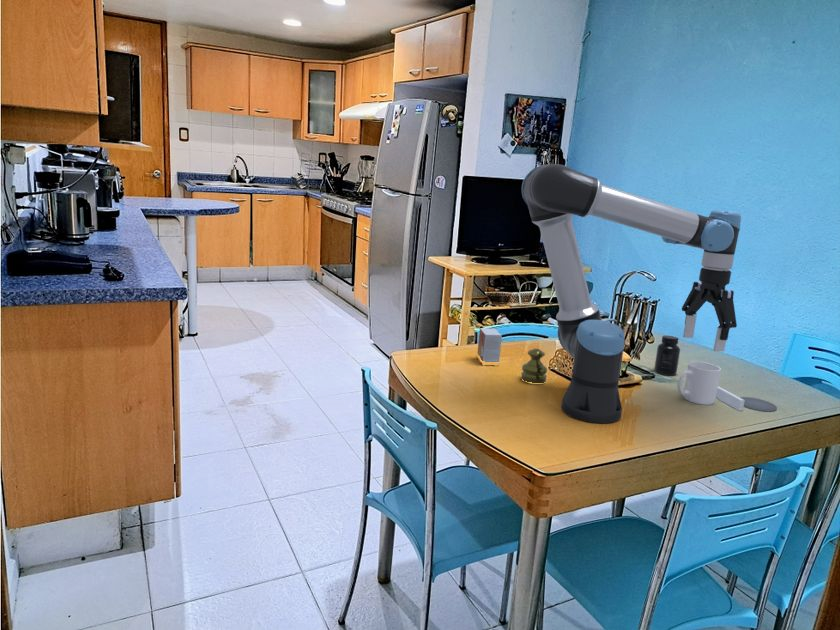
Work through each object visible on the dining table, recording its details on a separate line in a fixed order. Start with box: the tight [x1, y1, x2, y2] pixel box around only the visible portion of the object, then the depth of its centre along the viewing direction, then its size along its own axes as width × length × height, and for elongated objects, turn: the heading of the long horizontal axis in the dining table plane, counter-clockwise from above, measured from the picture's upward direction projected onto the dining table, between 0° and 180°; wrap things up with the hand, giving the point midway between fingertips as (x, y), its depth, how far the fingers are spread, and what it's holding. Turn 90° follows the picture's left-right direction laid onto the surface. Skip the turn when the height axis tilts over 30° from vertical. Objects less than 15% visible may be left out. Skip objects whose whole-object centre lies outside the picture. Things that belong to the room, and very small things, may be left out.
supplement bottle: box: [653, 335, 681, 377], centre depth 189 cm, size 7×7×12 cm
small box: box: [477, 327, 503, 363], centre depth 189 cm, size 8×6×10 cm
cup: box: [676, 361, 722, 406], centre depth 166 cm, size 8×12×10 cm
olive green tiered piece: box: [520, 348, 548, 384], centre depth 174 cm, size 7×7×10 cm
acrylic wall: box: [716, 385, 745, 412], centre depth 167 cm, size 1×14×3 cm, turn 10°
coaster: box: [739, 396, 778, 413], centre depth 166 cm, size 10×10×1 cm
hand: (702, 344), depth 163 cm, fingers open, 13 cm apart
